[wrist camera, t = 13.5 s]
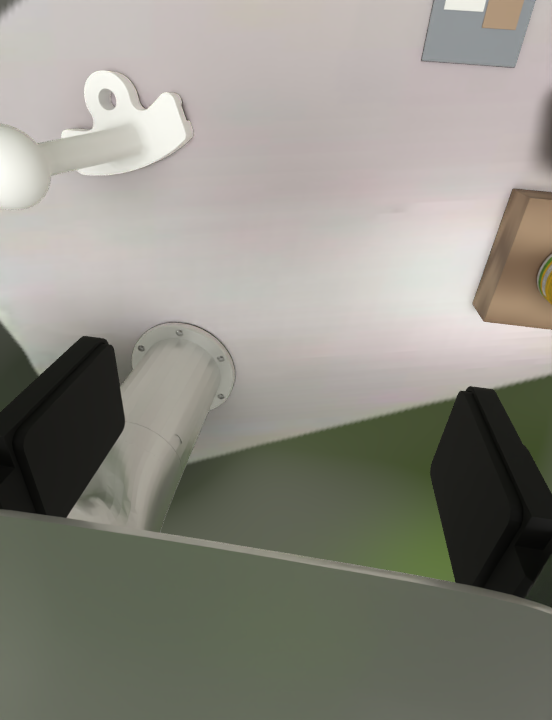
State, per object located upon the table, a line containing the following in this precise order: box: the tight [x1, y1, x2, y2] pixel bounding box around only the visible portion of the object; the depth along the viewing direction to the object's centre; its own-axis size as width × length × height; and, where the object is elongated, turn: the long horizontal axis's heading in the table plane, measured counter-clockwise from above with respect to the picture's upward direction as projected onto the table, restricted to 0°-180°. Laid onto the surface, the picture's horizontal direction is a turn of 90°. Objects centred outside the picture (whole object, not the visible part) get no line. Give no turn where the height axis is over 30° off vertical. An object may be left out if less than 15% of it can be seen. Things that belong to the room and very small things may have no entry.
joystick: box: [0, 71, 193, 210], centre depth 29 cm, size 11×8×20 cm
